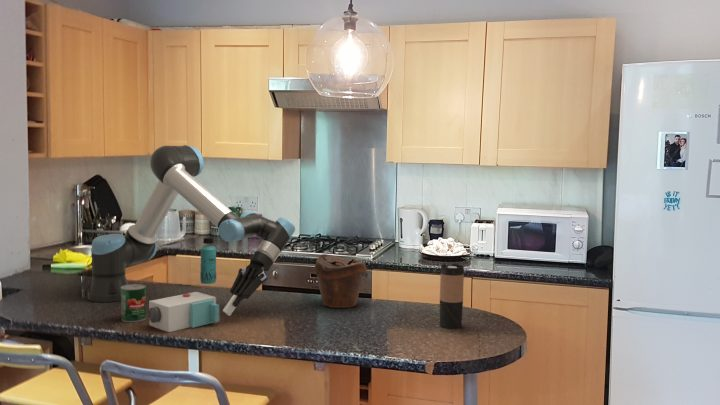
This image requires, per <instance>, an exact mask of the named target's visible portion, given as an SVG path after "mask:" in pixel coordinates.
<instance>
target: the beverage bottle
mask: <svg viewBox="0 0 720 405" xmlns="http://www.w3.org/2000/svg"><path fill="white" fill-rule="evenodd" d="M214 241H215V240H214V238H213V237H203V242H202V243H203V244H207V245H203V246H202V247H201V248H200V274H199V275H200V278H199V279H200V283H201V284H203V285H211V284H215V283H216V282H217V248H216V247H215V245H211V244H214Z"/></svg>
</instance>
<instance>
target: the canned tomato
mask: <svg viewBox="0 0 720 405" xmlns="http://www.w3.org/2000/svg"><path fill="white" fill-rule="evenodd" d="M146 288H147V285H146V284H142V283H131V284H129V283H128V285H124V286H122V287H121V300H120V308H121V311H120V312H121V317H120V318H121V319H120V320H121V321H122V322H124V323H139V322H142V321H145V320H146V319H147V303H146V302H147V291H146V290H147V289H146Z"/></svg>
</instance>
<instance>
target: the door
mask: <svg viewBox="0 0 720 405" xmlns="http://www.w3.org/2000/svg"><path fill="white" fill-rule="evenodd" d="M218 322H220V304H218V303H216V304H215V303H214V300H211V299H210V300H205V301H201V302H196V303H191V304H190V327H189V328H192V329H193V328H198V327H201V326H205V325H209V324H214V323H218Z"/></svg>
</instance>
